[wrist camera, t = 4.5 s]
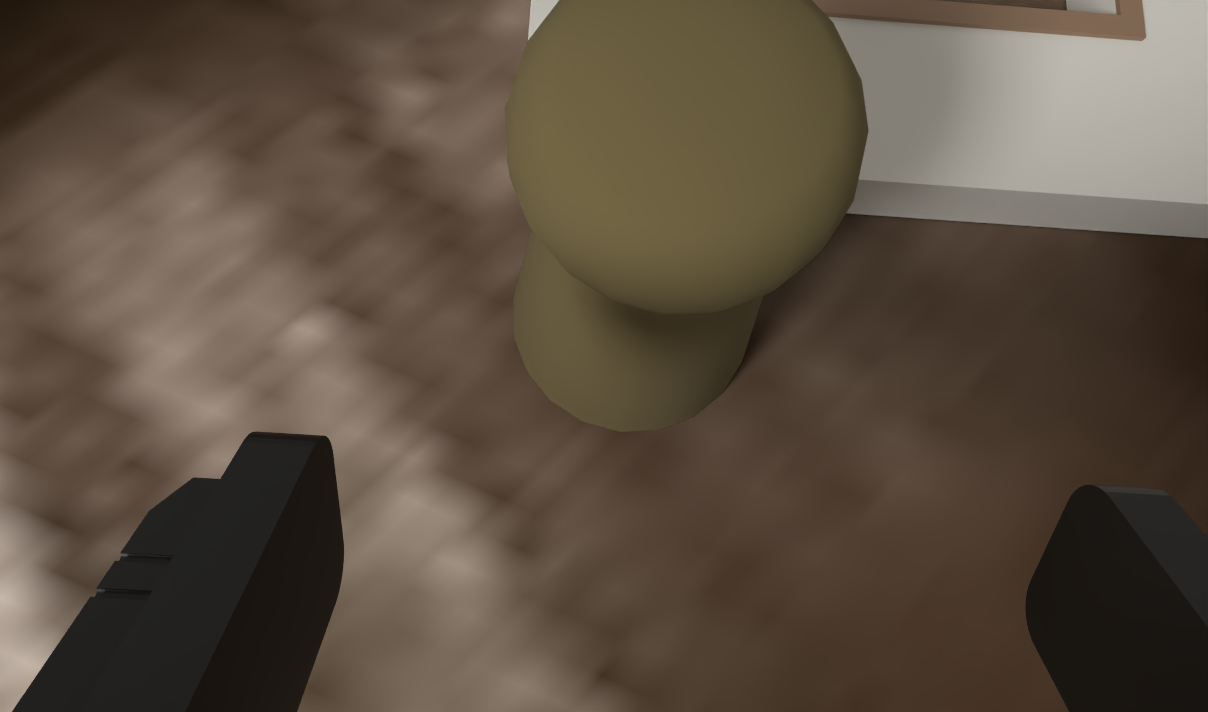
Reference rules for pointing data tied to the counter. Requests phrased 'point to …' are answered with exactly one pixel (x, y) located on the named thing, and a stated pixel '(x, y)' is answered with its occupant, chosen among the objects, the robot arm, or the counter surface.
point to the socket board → (1030, 111)
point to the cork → (671, 191)
